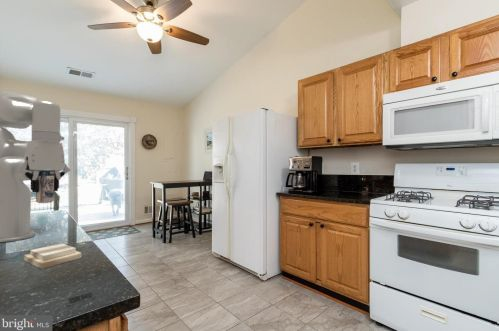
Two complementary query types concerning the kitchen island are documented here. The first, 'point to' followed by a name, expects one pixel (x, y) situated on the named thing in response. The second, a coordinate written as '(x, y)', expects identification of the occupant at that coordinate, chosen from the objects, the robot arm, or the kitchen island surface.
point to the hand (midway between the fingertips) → (45, 190)
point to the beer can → (45, 186)
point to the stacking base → (53, 261)
